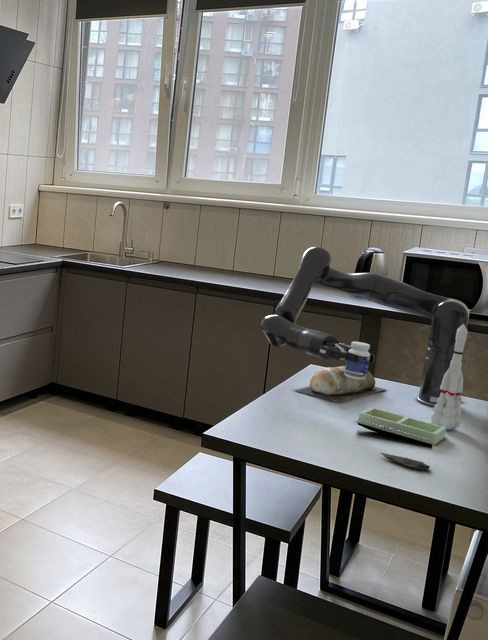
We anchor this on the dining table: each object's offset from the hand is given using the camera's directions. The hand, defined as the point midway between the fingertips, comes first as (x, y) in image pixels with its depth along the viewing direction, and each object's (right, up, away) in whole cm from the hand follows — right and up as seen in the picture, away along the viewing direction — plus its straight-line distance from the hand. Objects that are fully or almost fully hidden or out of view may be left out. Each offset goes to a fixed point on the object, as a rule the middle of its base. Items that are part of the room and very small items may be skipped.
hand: (366, 359), depth 208 cm
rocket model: (+23, -20, +1) cm, 30 cm away
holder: (+7, -19, -5) cm, 21 cm away
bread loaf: (+8, -14, +31) cm, 35 cm away
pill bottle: (-2, -6, +3) cm, 7 cm away
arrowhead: (-7, -22, -31) cm, 39 cm away
